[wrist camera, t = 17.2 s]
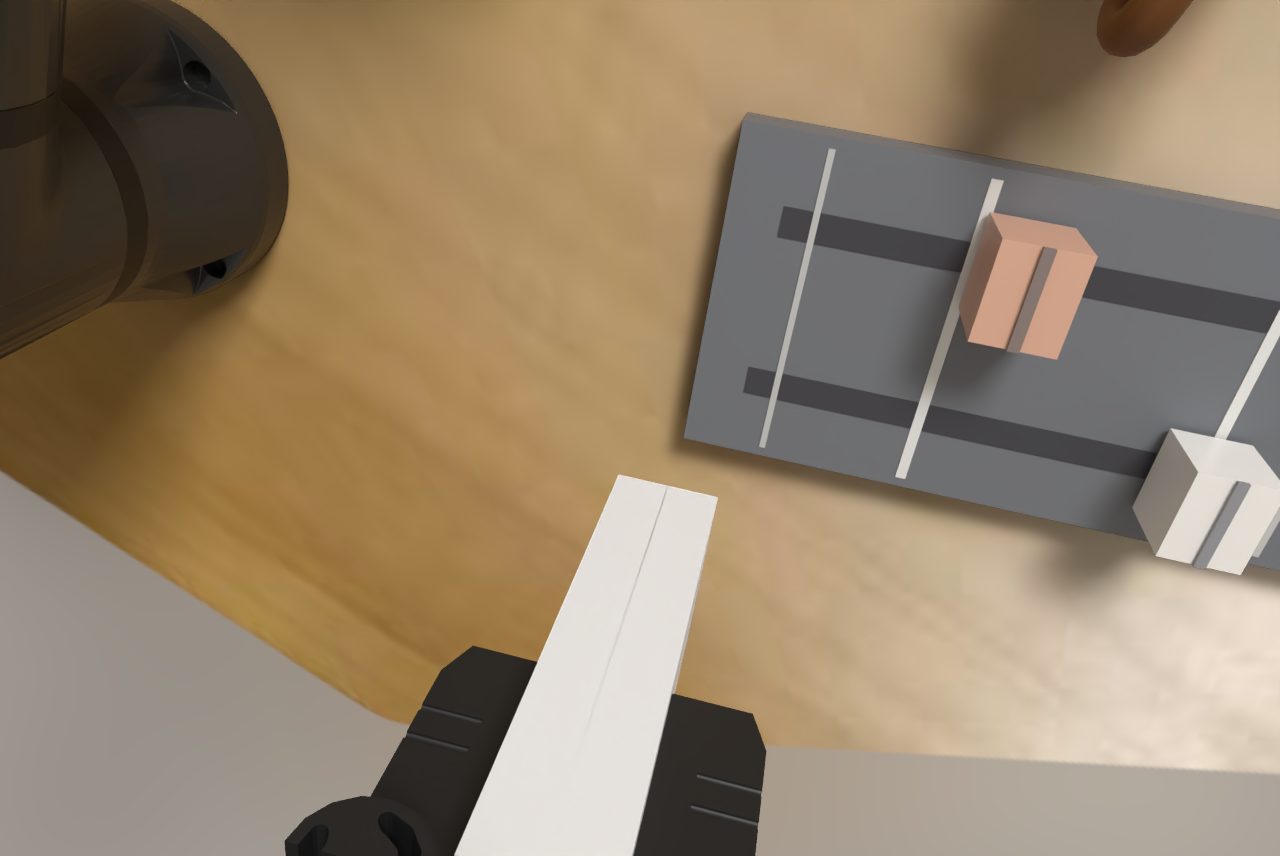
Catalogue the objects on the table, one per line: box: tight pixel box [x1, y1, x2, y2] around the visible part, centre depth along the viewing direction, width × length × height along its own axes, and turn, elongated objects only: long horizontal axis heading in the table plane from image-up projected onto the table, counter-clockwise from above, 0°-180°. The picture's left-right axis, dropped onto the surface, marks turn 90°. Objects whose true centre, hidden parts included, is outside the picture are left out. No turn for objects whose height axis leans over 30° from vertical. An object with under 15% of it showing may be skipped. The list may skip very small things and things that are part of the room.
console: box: [684, 113, 1280, 571], centre depth 43 cm, size 32×16×2 cm, turn 81°
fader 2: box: [1132, 428, 1280, 575], centre depth 42 cm, size 4×4×4 cm
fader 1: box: [958, 212, 1098, 360], centre depth 39 cm, size 4×4×4 cm
